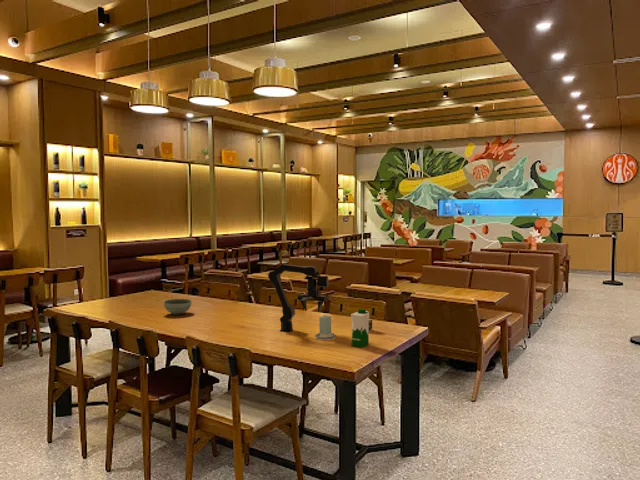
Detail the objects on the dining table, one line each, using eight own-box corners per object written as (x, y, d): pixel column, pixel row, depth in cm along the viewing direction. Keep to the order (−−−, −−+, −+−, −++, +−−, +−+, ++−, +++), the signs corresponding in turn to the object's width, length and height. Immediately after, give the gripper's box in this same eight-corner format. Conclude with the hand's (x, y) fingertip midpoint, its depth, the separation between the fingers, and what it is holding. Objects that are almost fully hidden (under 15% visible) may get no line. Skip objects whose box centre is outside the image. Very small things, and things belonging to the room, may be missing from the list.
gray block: (319, 337, 290) (319, 317, 289) (324, 335, 294) (324, 315, 293) (326, 338, 287) (326, 318, 286) (331, 336, 291) (331, 316, 290)
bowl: (169, 311, 374) (168, 298, 373) (196, 311, 373) (195, 298, 373) (159, 317, 353) (158, 303, 353) (187, 316, 352) (187, 303, 352)
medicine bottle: (363, 332, 302) (363, 313, 301) (356, 330, 308) (356, 311, 307) (372, 330, 306) (372, 311, 306) (364, 328, 312) (364, 309, 311)
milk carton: (370, 344, 273) (370, 309, 272) (363, 348, 266) (362, 312, 265) (357, 342, 278) (356, 307, 277) (349, 346, 271) (348, 310, 270)
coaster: (311, 338, 287) (311, 336, 287) (320, 334, 298) (320, 331, 298) (330, 341, 282) (330, 338, 282) (339, 336, 293) (339, 333, 293)
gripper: (331, 285, 305) (331, 310, 306) (304, 283, 313) (305, 307, 314) (323, 288, 295) (323, 313, 296) (296, 286, 303) (296, 311, 304)
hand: (312, 311), depth 303 cm, fingers open, 9 cm apart
